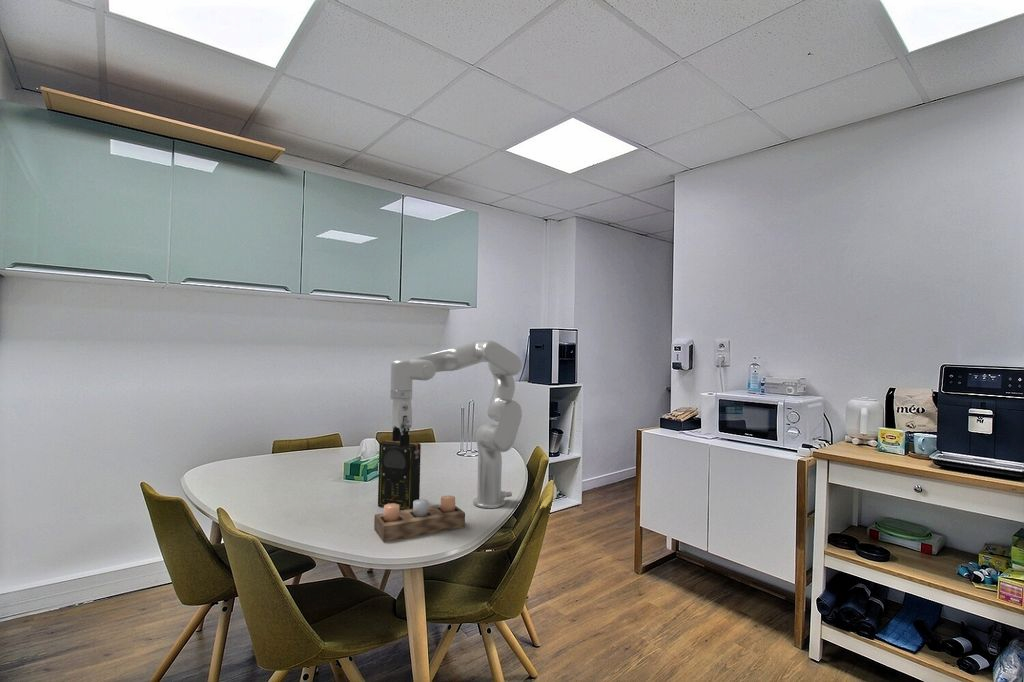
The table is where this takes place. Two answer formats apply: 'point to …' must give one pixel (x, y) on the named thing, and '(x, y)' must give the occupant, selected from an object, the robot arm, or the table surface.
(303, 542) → the table surface
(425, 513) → the button middle
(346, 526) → the table surface
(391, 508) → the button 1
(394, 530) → the wooden candle holder
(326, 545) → the table surface
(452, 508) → the button
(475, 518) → the table surface
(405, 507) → the voltmeter
